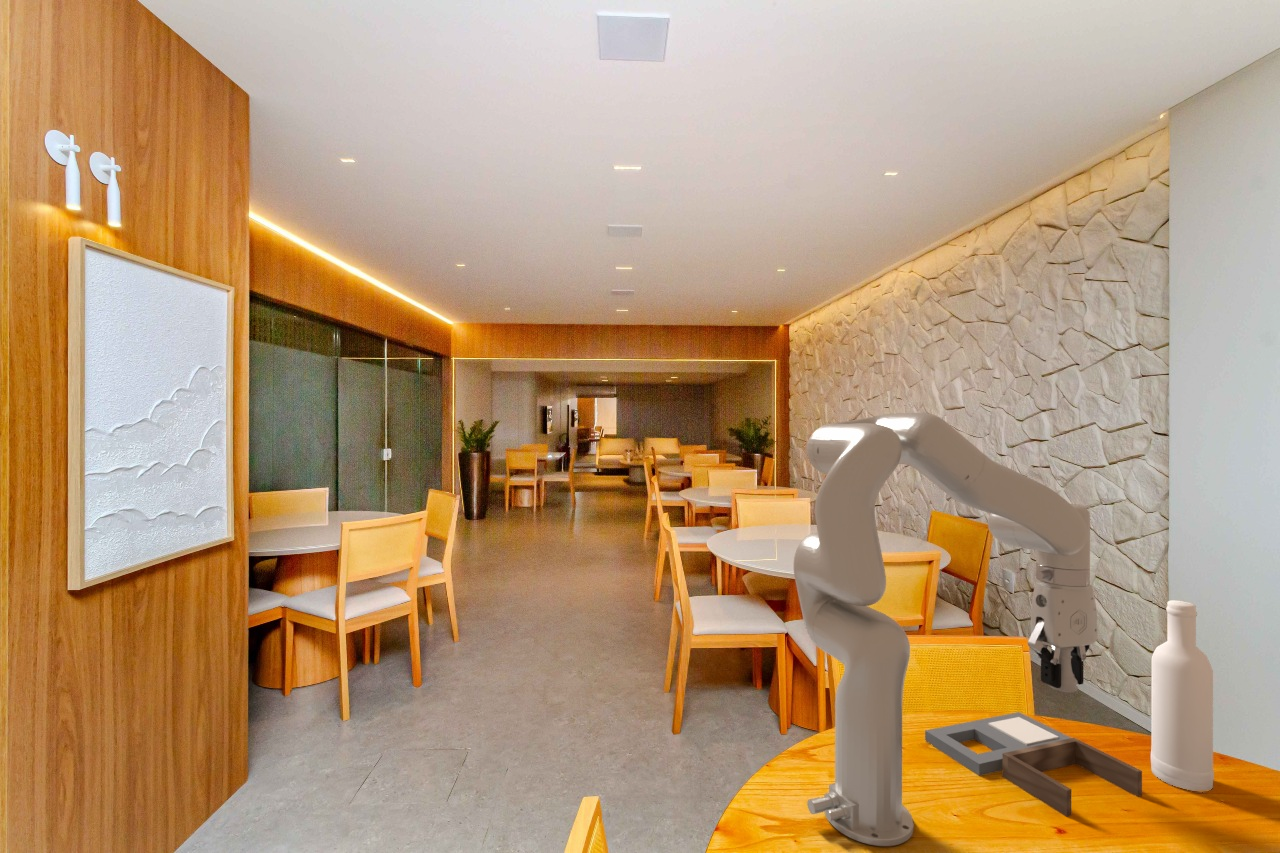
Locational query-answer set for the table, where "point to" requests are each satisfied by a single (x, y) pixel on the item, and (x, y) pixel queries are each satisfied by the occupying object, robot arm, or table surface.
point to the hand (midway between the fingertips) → (1061, 681)
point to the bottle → (1182, 705)
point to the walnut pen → (1034, 760)
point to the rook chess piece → (1066, 672)
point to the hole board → (991, 739)
